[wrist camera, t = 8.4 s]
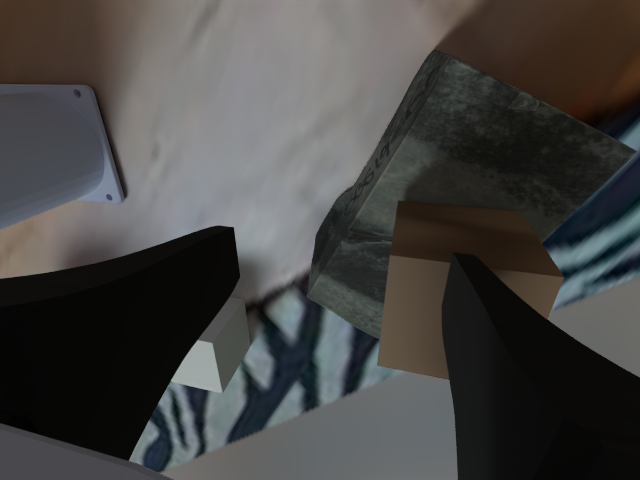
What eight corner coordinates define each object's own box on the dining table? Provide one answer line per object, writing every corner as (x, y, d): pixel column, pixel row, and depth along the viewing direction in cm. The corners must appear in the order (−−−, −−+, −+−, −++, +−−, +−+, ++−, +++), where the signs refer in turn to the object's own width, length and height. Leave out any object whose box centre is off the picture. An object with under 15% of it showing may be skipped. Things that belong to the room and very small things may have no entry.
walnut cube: (387, 291, 18) (377, 365, 13) (398, 200, 15) (389, 255, 11) (491, 306, 17) (517, 393, 12) (520, 211, 14) (564, 277, 10)
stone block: (308, 251, 24) (282, 294, 20) (424, 36, 17) (426, 26, 12) (418, 313, 24) (418, 370, 20) (584, 124, 17) (645, 147, 12)
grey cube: (199, 335, 31) (163, 379, 26) (189, 289, 28) (148, 330, 24) (250, 345, 30) (222, 393, 25) (244, 298, 27) (212, 342, 23)
